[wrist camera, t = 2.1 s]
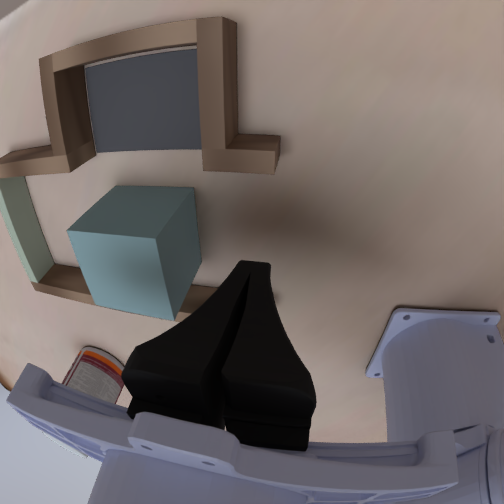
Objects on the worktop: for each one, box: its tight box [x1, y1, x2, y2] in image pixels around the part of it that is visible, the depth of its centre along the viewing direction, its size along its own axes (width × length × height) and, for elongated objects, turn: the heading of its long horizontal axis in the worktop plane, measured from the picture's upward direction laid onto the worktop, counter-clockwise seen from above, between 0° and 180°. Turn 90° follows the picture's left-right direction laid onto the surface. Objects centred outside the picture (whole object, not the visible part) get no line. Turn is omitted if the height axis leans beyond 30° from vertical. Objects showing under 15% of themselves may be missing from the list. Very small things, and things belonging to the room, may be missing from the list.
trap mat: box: [85, 49, 202, 153], centre depth 14 cm, size 7×5×1 cm
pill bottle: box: [43, 347, 124, 458], centre depth 26 cm, size 6×6×11 cm
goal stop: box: [0, 176, 54, 283], centre depth 19 cm, size 1×9×2 cm, turn 1°
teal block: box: [67, 186, 202, 321], centre depth 16 cm, size 5×5×5 cm
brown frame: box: [0, 17, 280, 322], centre depth 16 cm, size 19×16×2 cm
